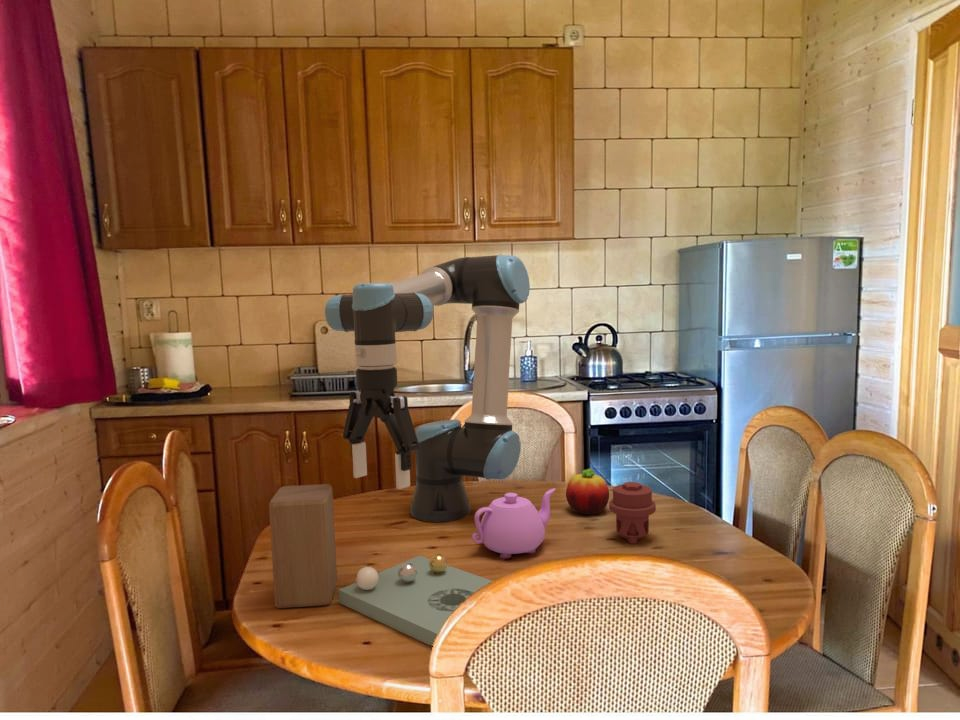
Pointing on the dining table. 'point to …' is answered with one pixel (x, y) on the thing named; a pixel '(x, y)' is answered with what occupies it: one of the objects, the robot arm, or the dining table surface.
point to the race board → (413, 598)
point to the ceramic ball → (367, 578)
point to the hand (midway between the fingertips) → (381, 481)
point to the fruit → (587, 493)
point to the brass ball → (438, 563)
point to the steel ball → (407, 572)
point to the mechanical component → (632, 510)
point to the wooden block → (303, 545)
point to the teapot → (512, 524)
